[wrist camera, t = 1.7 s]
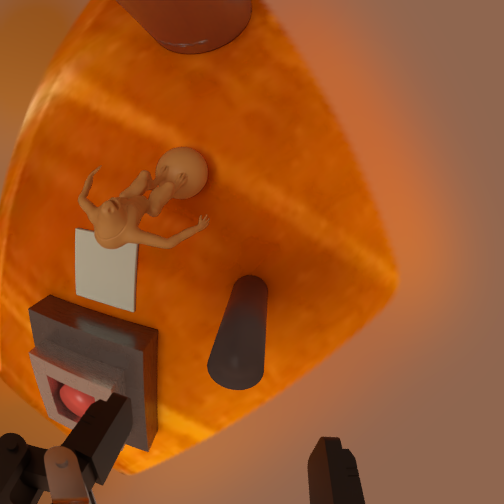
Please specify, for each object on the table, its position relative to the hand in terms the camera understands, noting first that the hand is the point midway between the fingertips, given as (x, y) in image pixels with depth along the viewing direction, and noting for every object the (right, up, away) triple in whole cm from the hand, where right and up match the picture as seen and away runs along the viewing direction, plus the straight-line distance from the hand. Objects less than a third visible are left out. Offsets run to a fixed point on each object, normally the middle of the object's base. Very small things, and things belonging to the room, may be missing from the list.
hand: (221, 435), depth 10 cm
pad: (-13, +6, +16) cm, 21 cm away
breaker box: (-16, -6, +19) cm, 26 cm away
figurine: (-4, +13, +13) cm, 19 cm away
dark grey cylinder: (+1, +4, +15) cm, 16 cm away
